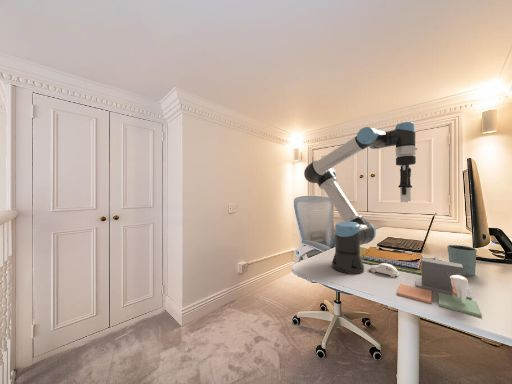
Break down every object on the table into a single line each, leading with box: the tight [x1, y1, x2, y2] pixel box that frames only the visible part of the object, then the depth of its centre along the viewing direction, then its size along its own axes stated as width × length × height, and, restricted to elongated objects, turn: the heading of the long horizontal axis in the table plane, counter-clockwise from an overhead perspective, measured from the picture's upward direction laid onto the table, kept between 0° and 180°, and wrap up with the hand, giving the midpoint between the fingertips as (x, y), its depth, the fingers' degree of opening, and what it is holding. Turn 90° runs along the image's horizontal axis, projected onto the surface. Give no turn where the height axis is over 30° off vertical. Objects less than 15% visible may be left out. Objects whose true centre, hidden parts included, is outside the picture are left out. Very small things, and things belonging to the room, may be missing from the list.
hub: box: [415, 257, 473, 301], centre depth 82 cm, size 16×8×11 cm, turn 49°
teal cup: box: [446, 244, 478, 277], centre depth 100 cm, size 10×10×12 cm
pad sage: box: [437, 292, 483, 318], centre depth 71 cm, size 10×10×1 cm
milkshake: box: [447, 272, 469, 304], centre depth 72 cm, size 4×5×10 cm
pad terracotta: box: [396, 283, 433, 305], centre depth 79 cm, size 10×10×1 cm
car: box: [368, 262, 400, 278], centre depth 100 cm, size 12×6×5 cm, turn 49°
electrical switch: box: [429, 255, 440, 260], centre depth 93 cm, size 9×5×9 cm, turn 141°
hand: (405, 201), depth 96 cm, fingers open, 13 cm apart
